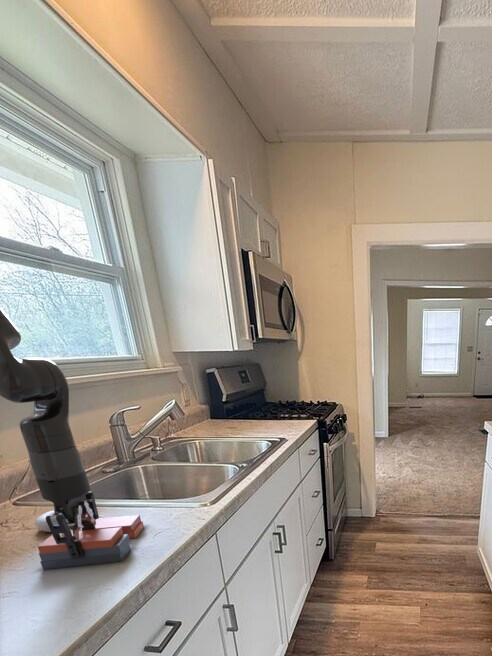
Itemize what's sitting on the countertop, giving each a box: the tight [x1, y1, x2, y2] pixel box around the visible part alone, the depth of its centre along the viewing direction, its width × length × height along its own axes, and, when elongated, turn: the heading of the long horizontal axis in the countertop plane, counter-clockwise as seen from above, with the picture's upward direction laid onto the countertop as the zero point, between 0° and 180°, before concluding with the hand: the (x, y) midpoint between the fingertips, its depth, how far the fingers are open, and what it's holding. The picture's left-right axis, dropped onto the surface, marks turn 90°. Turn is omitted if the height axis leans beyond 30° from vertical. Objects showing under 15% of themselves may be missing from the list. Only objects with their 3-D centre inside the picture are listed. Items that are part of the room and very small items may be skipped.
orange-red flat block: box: [70, 514, 145, 539], centre depth 92 cm, size 13×6×3 cm, turn 103°
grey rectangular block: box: [38, 534, 131, 570], centre depth 82 cm, size 14×5×4 cm, turn 103°
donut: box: [35, 509, 74, 533], centre depth 97 cm, size 10×4×10 cm
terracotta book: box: [37, 527, 123, 554], centre depth 81 cm, size 12×6×2 cm, turn 103°
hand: (86, 549), depth 82 cm, fingers closed on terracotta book, 6 cm apart
